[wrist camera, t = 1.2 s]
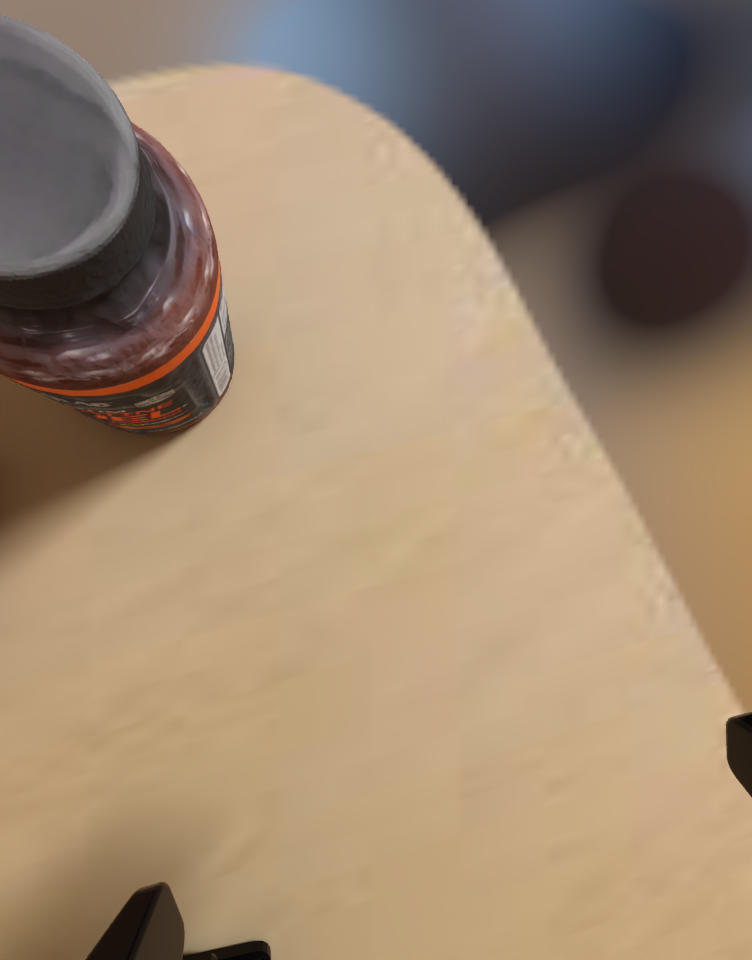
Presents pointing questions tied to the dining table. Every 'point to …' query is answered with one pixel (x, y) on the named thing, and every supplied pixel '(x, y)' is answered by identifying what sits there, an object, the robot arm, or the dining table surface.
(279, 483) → the dining table surface
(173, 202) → the supplement bottle
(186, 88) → the dining table surface
